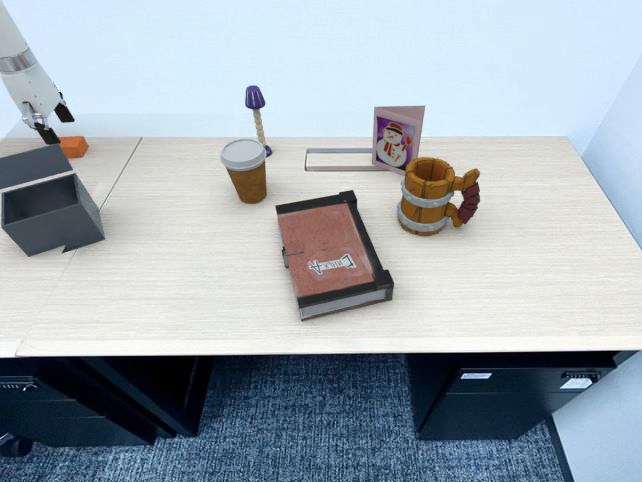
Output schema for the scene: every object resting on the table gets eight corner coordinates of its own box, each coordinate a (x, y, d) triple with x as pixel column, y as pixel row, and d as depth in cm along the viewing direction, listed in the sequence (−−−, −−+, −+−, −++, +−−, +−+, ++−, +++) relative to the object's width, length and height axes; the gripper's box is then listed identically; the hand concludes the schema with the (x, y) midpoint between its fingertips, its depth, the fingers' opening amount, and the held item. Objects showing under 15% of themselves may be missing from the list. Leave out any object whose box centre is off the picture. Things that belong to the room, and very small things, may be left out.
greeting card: (369, 165, 99) (372, 108, 87) (384, 151, 103) (388, 94, 91) (411, 180, 95) (419, 123, 84) (424, 165, 99) (433, 108, 88)
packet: (53, 158, 100) (46, 148, 97) (60, 147, 103) (54, 137, 101) (82, 157, 100) (76, 146, 98) (88, 146, 103) (83, 135, 101)
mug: (402, 198, 91) (409, 139, 79) (474, 215, 87) (493, 156, 76) (388, 229, 84) (394, 170, 73) (466, 248, 81) (485, 190, 69)
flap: (-20, 162, 73) (-19, 162, 73) (-2, 189, 76) (-1, 189, 76) (58, 143, 77) (58, 143, 77) (73, 170, 80) (73, 169, 80)
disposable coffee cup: (266, 178, 95) (257, 132, 86) (279, 201, 90) (271, 156, 81) (227, 188, 93) (213, 143, 83) (237, 213, 87) (224, 168, 78)
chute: (33, 262, 78) (1, 227, 70) (31, 228, 84) (1, 192, 76) (105, 239, 82) (81, 203, 74) (98, 208, 88) (75, 172, 81)
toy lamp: (254, 148, 103) (241, 84, 91) (272, 145, 104) (261, 82, 91) (256, 158, 100) (242, 94, 88) (274, 156, 101) (263, 91, 88)
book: (274, 222, 85) (271, 204, 82) (353, 207, 89) (353, 189, 85) (297, 322, 69) (294, 305, 65) (392, 299, 72) (394, 283, 69)
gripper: (14, 44, 90) (58, 115, 103) (-25, 79, 79) (31, 154, 92) (48, 42, 90) (88, 113, 103) (15, 77, 79) (64, 151, 92)
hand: (61, 132), depth 97 cm, fingers open, 9 cm apart
